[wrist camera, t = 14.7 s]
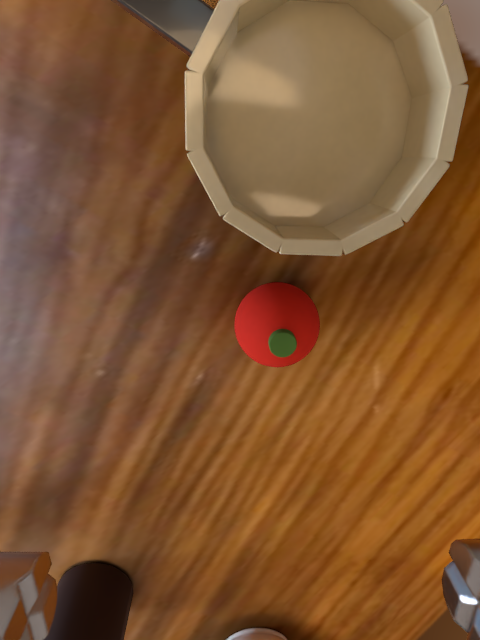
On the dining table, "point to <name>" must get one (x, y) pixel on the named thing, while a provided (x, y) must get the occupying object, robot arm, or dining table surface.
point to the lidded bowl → (257, 634)
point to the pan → (316, 112)
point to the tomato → (277, 324)
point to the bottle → (92, 604)
